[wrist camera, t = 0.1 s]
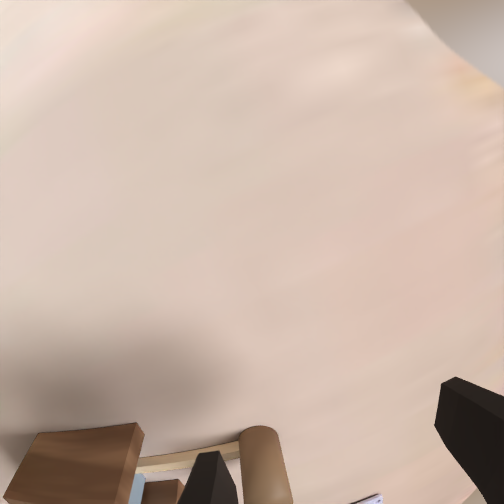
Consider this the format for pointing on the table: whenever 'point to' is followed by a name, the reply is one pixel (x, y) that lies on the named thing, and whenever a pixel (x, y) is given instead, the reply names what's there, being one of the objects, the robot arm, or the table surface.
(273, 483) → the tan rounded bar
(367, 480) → the table surface
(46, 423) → the table surface
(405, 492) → the table surface
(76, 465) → the walnut shelf
